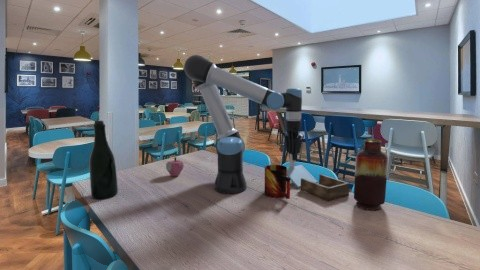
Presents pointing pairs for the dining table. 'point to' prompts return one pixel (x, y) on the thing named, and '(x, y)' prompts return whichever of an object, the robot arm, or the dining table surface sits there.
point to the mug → (277, 181)
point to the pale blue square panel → (299, 175)
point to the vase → (370, 176)
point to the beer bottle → (102, 165)
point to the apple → (174, 167)
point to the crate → (326, 188)
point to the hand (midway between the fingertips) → (292, 166)
